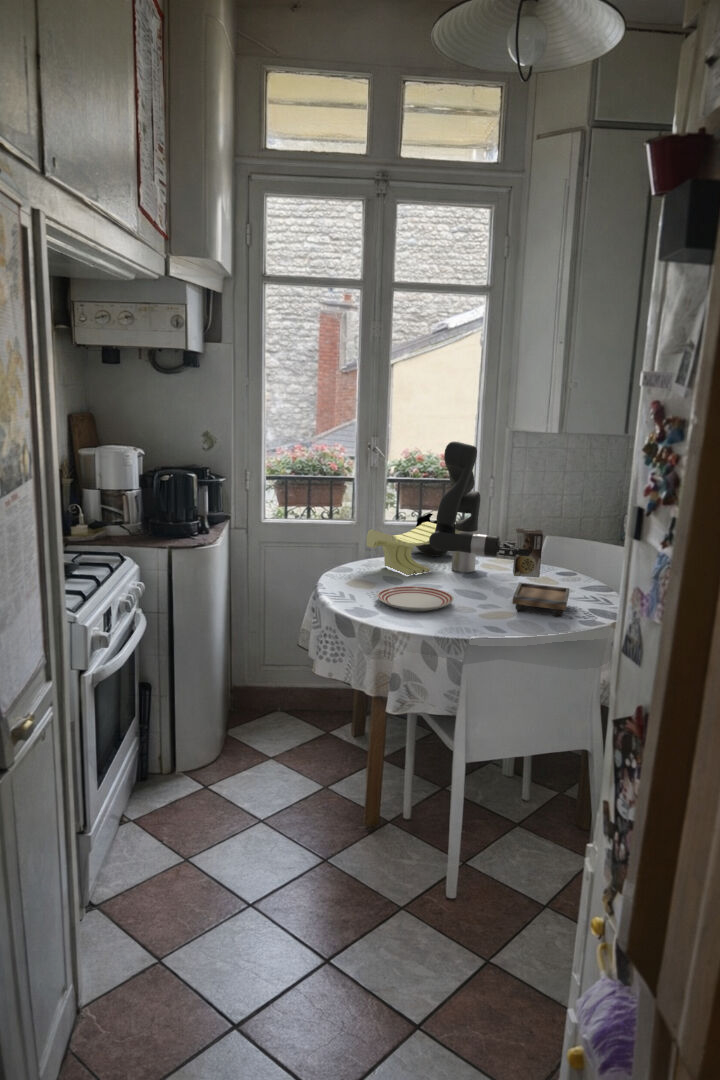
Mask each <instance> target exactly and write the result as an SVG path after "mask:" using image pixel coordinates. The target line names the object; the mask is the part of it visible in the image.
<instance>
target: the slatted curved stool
mask: <svg viewBox="0 0 720 1080" xmlns="http://www.w3.org/2000/svg"><path fill="white" fill-rule="evenodd" d="M431 522H432V521H431ZM431 522H424V523H422V524H421V525H420V526H417V527H416V526H415V527H414V528H415V529H414V528H412V529H411V530H409V531H408V532H404V533H401V534H396V535H391V534H388V533H384V532H382V531H378V530H375V529H369V530H368V531H367V535H366V547H368V548H372V549H374V548H377V547H382V551H383V557H384V559H383V560H384V567H385V566H388V567H390V568H393V569H395V570H397V571H400V572H402V573H404V574H406V575H411V574H414V573H415V574H417V573H423V572H429V571H431V569H430V567H427V566H425V565H422V564H420V563H418V562H417V561H416V560H414V559H413V557H412V551H413V548H415V547H416V546H419V545H424V544H430V543H429V538H430V536H431V535H432V534H433V533H434V532H435V529H436V525H437V524H434V523H431ZM415 545H416V546H415ZM423 574H424V573H423Z"/></svg>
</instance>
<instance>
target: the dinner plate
mask: <svg viewBox="0 0 720 1080" xmlns="http://www.w3.org/2000/svg"><path fill="white" fill-rule="evenodd" d="M376 597H377V599H378V600H379V601H380V602H382V603H384V604H385V605H387V606H390V607H393V608H396V609H397V608H399V609H398V610H401V609H404V610H403V611H406V610H410V611H409V612H416V611H421V612H430V611H433V610H437V609H441V608H444V607H447V606H449V605H450V604H451V603H453V601H454V600H455V597H454V596H453V594H451V593H449V592H447V591H445V590H443V589H439V588H434V587H428V586H418V585H401V586H393V587H392V586H391V587H388V588H384V589H381V590H379V591H378V592H377V593H376Z"/></svg>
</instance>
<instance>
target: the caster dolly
mask: <svg viewBox="0 0 720 1080" xmlns="http://www.w3.org/2000/svg"><path fill="white" fill-rule="evenodd" d="M569 596H570V588H569V587H561V586H552V585H543V584H536V583H529V582H528V583H526V582H518V585H517V587H516V589H515V591H514V594H513V596H512V604H513V605H515V610H516V611H517V612H519V613H520V612H524V610H525V609H526V606H527V607H529V606H530V607H535V608H536V607H537V608H542V609H543V608H544V609H552V612H553V613H552V614H553V615H554V616H555V617H561V616H563V613H564V611H566V610H567V606H568V605H567V604H568V602H569V601H568V600H569V598H570V597H569Z"/></svg>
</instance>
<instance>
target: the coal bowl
mask: <svg viewBox="0 0 720 1080" xmlns="http://www.w3.org/2000/svg"><path fill="white" fill-rule="evenodd" d="M433 515H434V513H430V512H428V513H427V514H425V515H424V516H421V517H419V518H417V520H416V524H415V527H417V526H420V525H421V524H422V523H424V522H431V523H434V524H437V520H433V521H431V517H432V516H433ZM456 520H457V519H456ZM456 520H455V523H454V531H453V533H455V524H456V522H457V521H456ZM415 527H414V528H413V529H415ZM414 547H415V548H416V549H417V550H418V551H419V552H421V553H422V554H424V555H427V556H429V555H433V556H432V557H438V556H437V555H439V556H442V555H445V554H447V553H448V552H449V551H439V550H435V549H433V548H432V547H431V545H430V544H424V545H419V546H416V545H415V546H414Z"/></svg>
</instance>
